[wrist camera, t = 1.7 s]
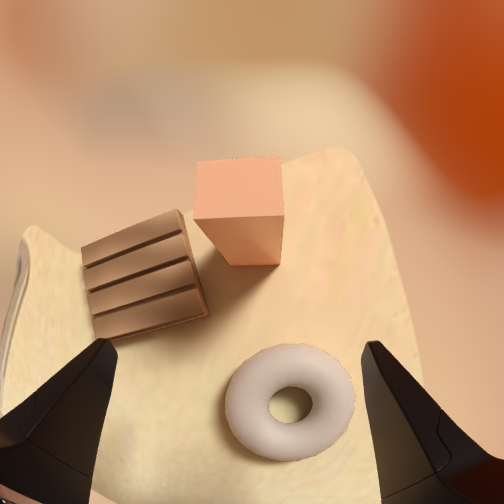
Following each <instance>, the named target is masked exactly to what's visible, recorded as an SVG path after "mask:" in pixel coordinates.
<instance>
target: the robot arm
mask: <svg viewBox="0 0 504 504" xmlns="http://www.w3.org/2000/svg"><path fill="white" fill-rule="evenodd" d="M117 359H118V354H117V351H116V350H115V348H114V346H113V345H112V343H111V341H110V340H109V339H107V338H98V339H96V340H95V341H94V342H93V343H92V344H90V345H89V346H88V347H87V348H86V349H84V350H83V351H82V352H81V353H80V354H78V355H77V356H76V357H75V358H74V359H72V360H71V361H70V362H69V363H68V364H66V365H65V366H64V367H63V368H62V369H61V370H59V371H58V372H57V373H56V374H55V375H53V376H52V377H51V378H50V379H49V380H48V381H46V382H45V383H44V384H43V385H42V386H41V387H40V388H38V389H37V391H35V392H34V393H33V394H31V395H30V396H29V397H28V398H27V399H26V400H24V401H23V402H22V403H21V404H19V405H18V406H17V407H15V408H14V409H13V410H11V411H10V412H9V413H7V414H6V415H4V416H3V417H2V418H1V419H0V504H89V497H90V490H91V484H92V477H93V471H94V466H95V460H96V455H97V450H98V446H99V441H100V437H101V432H102V428H103V424H104V419H105V415H106V411H107V408H108V404H109V400H110V396H111V392H112V387H113V381H114V375H115V370H116V364H117ZM361 366H362V375H363V385H364V396H365V403H366V409H367V413H368V418H369V424H370V429H371V434H372V440H373V445H374V451H375V458H376V464H377V471H378V478H379V485H380V493H381V503H382V504H504V460H503V459H499V458H496V457H494V456H492V455H490V454H488V453H487V452H486V451H485V450H483V449H482V448H481V447H480V446H479V445H478V444H477V443H476V442H474V440H472V439H471V438H470V437H469V436H468V435H467V434H466V433H465V432H464V431H463V430H461V428H459V427H458V426H457V425H456V424H455V422H453V420H452V419H451V418H450V417H449V416H448V415H447V414H446V413H445V412H444V410H442V409H441V407H440V406H439V405H438V404H437V403H436V402H435V401H434V400H433V398H432V397H431V396H430V395H429V394H428V393H427V392H426V391H425V389H424V388H423V387H422V386H421V385H420V384H419V383H418V382H417V381H416V380H415V379H414V377H413V376H412V375H411V374H410V373H409V372H408V371H407V370H406V369H405V368H404V367H403V366H402V365H401V363H400V362H399V361H398V360H397V359H396V358H395V357H394V356H393V355H392V354H391V353H390V352H389V351H388V350H387V349H386V348H385V346H384V345H383V344H382V343H381V342H380V341H377V340H376V341H368V342H367V343H366V345H365V348H364V351H363V353H362V356H361Z"/></svg>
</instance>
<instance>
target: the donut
mask: <svg viewBox="0 0 504 504" xmlns="http://www.w3.org/2000/svg"><path fill="white" fill-rule="evenodd" d="M285 387H299V388H303V389H304V390H306V391H307V392H308V393H309V394H310V396H311V398H312V402H313V405H312V409H311V411H310V413H309V414H308V415H307V416H306V417H305V418H304V419H302V420H301V421H299V422H295V423H283V422H280V421H278V420H276V419H275V418H274V417H273V416H272V415H271V414H270V411H269V401H270V399H271V397H272V396H273V394H274V393H275V392H277V391H278V390H280V389H282V388H285ZM355 396H356V394H355V391H354V387H353V383H352V380H351V377H350V375H349V373H348V372H347V371H346V369H345V368H344V366H343V365H342V364H341V362H340V361H339V360H338V359H336V358H335V357H334V356H332V355H331V354H329V353H328V352H326V351H325V350H323V349H320V348H317V347H313V346H310V345H307V344H280V345H277V346H273V347H270V348H267V349H263V350H261V351H260V352H258V353H257V354H255V355H254V356H252V357H250V358H249V359H247V360H246V361H244V363H243V364H242V365H241V366H240V368H239V369H238V370H237V371H236V373H235V374H234V375H233V376H232V378H231V381H230V384H229V386H228V389H227V392H226V395H225V415H226V418H227V421H228V423H229V426H230V429H231V431H232V433H233V434H234V435H235V436H236V438H237V439H238V440H239V441H240V442H241V443H242V445H243V446H245V447H246V448H248V449H249V450H251V451H253V452H254V453H256V454H258V455H259V456H262V457H266V458H269V459H273V460H277V461H298V460H302V459H305V458H309V457H312V456H316V455H318V454H319V453H321V452H323V451H324V450H326V449H327V448H329V447H331V446H332V445H333V444H334V443H335V442H336V441H337V440H338V439H339V438H340V437H341V436H342V434H343V433H344V432H345V431H346V430H347V428H348V425H349V423H350V421H351V419H352V416H353V414H354V408H355Z"/></svg>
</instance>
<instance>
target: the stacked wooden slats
mask: <svg viewBox="0 0 504 504" xmlns="http://www.w3.org/2000/svg"><path fill="white" fill-rule="evenodd" d="M81 252H82V261H83V266H84V267H87V270H85V271H84V277H85V283H86V290H88V291H90V292H91V294H89V295H87V296H88V302H89V307H90V312H91V315H95V318H96V319H94V320H92V322H93V327H94V331H95V335H96V339H98V338H107V339H109V340H110V341H111V342H112V341H116V340H120V339H124V338H128V337H132V336H136V335H140V334H144V333H147V332H151V331H155V330H159V329H162V328H166V327H169V326H173V325H177V324H180V323H184V322H187V321H191V320H194V319H198V318H201V317H204V316H208V315H209V311H208V308H207V305H206V301H205V298H204V294H203V291H202V287H201V284H200V280H199V276H198V273H197V269H196V265H195V262H194V258H193V254H192V250H191V246H190V242H189V238H188V234H187V230H186V226H185V222H184V218H183V215H182V214H181V213H180V212H179V211H178V210H176V209H174V210H172V211H169V212H166V213H164V214H161V215H159V216H156V217H153V218H151V219H148V220H146V221H143V222H141V223H138V224H136V225H133V226H131V227H128V228H126V229H124V230H121V231H119V232H116V233H114V234H112V235H109V236H107V237H105V238H102V239H100V240H98V241H96V242H93V243H91V244H89V245H86V246H84V247H82V248H81Z"/></svg>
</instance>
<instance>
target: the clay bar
mask: <svg viewBox="0 0 504 504" xmlns="http://www.w3.org/2000/svg"><path fill="white" fill-rule="evenodd" d="M193 220H194V221H195V222H196V224H197V225H198V226H199V227H200V228H201V230H202V231H203V232H204V233H205V235H206V236H207V237H208V238H209V240H210V241H211V242H212V243H213V244H214V246H215V247H216V248H217V249H218V251H219V252H220V253H221V254H222V255H223V257H224V258H225V259H226V260H227V262H228V263H229V264H230V265H231V266H240V265H277V264H280V261H281V250H282V238H283V226H284V201H283V184H282V169H281V157H259V158H241V159H225V160H214V161H203V162H198V163H197V173H196V186H195V199H194V214H193Z"/></svg>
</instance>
